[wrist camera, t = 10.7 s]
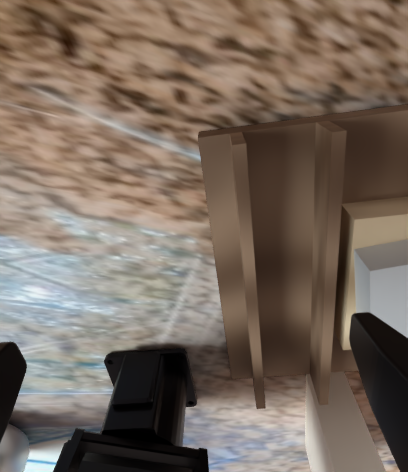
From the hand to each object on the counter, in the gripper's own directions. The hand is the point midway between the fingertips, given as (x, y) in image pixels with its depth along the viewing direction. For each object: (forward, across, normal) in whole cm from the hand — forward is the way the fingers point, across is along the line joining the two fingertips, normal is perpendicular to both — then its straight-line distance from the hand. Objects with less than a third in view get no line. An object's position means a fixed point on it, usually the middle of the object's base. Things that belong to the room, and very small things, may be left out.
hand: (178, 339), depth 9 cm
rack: (+12, -7, +6) cm, 15 cm away
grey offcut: (+8, -10, +6) cm, 15 cm away
